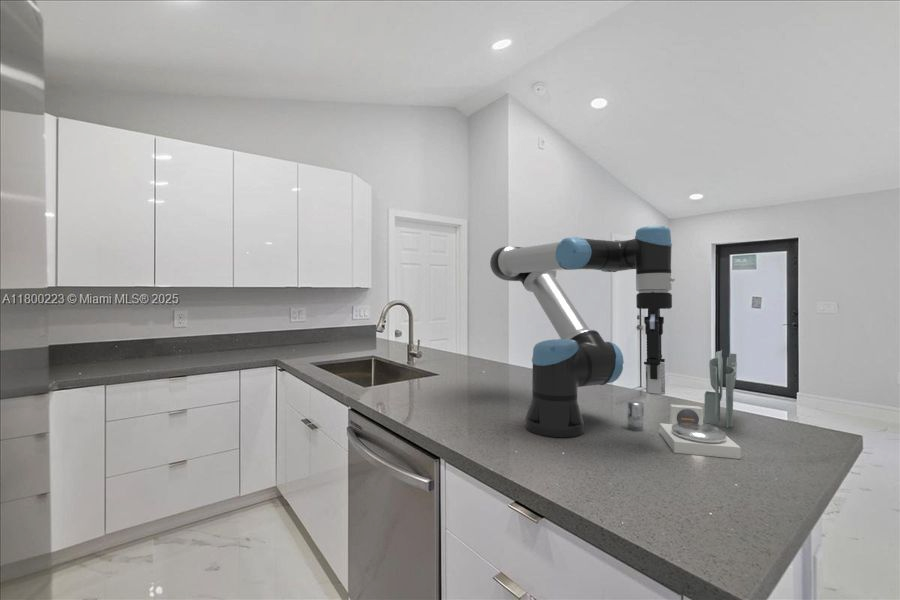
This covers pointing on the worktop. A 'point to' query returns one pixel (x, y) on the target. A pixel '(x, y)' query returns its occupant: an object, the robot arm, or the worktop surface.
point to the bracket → (715, 397)
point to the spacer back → (635, 415)
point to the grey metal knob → (661, 380)
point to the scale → (694, 447)
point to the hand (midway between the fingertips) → (654, 391)
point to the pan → (699, 433)
